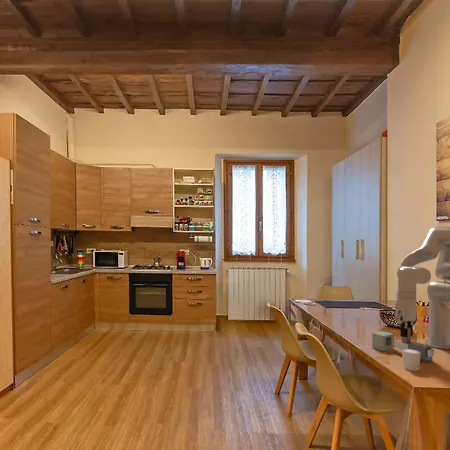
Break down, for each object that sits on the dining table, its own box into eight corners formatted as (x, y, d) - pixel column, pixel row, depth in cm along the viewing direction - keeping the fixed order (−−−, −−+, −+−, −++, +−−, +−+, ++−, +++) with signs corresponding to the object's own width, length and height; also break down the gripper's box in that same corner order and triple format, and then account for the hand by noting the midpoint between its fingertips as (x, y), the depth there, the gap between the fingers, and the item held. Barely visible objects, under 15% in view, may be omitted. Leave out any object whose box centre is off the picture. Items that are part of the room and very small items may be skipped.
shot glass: (415, 365, 160) (415, 348, 161) (424, 371, 154) (424, 353, 154) (398, 365, 160) (399, 348, 160) (407, 371, 153) (407, 353, 153)
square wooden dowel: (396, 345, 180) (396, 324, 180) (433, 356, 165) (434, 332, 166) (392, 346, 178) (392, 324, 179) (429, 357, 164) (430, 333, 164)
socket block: (382, 345, 189) (382, 331, 189) (393, 348, 184) (393, 333, 184) (372, 347, 184) (372, 333, 185) (383, 351, 179) (383, 336, 180)
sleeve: (414, 355, 174) (414, 341, 174) (432, 360, 167) (432, 346, 167) (406, 357, 171) (407, 343, 171) (424, 362, 164) (424, 347, 164)
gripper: (409, 292, 182) (409, 332, 182) (388, 295, 173) (387, 336, 173) (425, 295, 176) (424, 335, 176) (404, 297, 167) (403, 340, 167)
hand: (406, 335), depth 174 cm, fingers closed on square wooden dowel, 3 cm apart
